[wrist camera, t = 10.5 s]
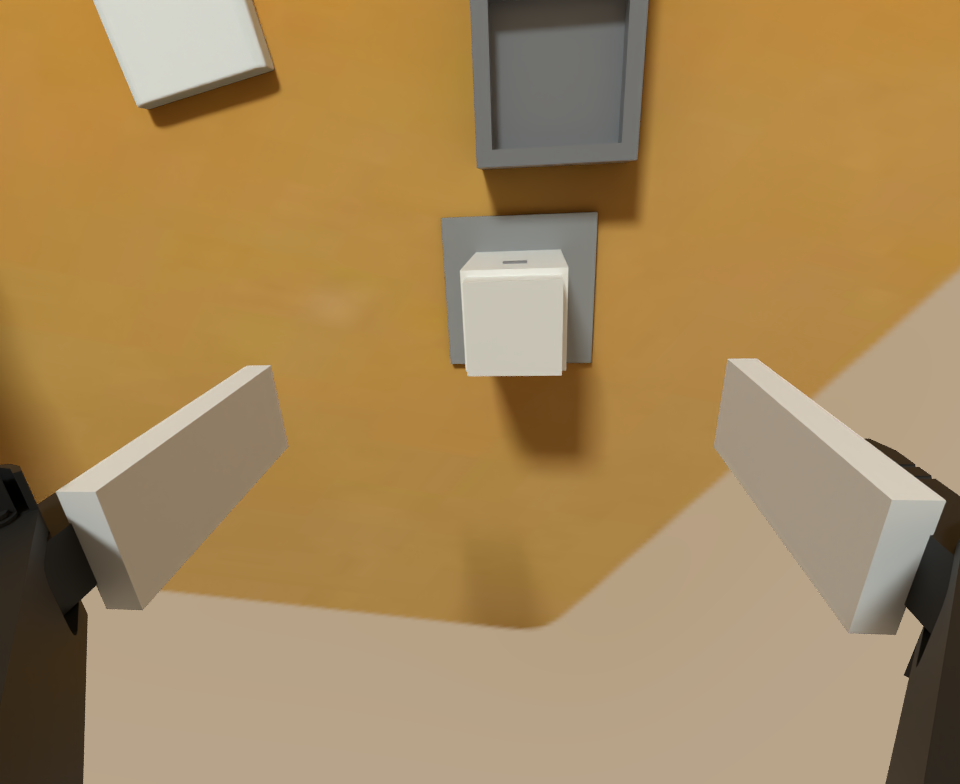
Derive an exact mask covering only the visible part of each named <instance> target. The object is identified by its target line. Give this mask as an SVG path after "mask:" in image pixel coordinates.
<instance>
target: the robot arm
mask: <svg viewBox="0 0 960 784" xmlns="http://www.w3.org/2000/svg"><path fill="white" fill-rule="evenodd" d="M287 448H288V442H287V438H286V433H285V428H284V424H283V419H282V415H281V410H280V405H279V401H278V396H277V391H276V387H275V382H274V378H273V373H272V368H271V365H265V366H245V367H244V368H242V369H241V370H239V371H238V372H236V373H235V374H233V375H232V376H230V377H229V378H227V379H226V380H224V381H223V382H221V383H220V384H218V385H216V386H215V387H213V388H212V389H210V390H209V391H207V392H206V393H204V394H203V395H201V396H200V397H198V398H197V399H195V400H194V401H192V402H191V403H189V404H188V405H186V406H185V407H183V408H182V409H180V410H179V411H177V412H175V413H174V414H172V415H171V416H169V417H168V418H166V419H165V420H163V421H162V422H160V423H159V424H157V425H156V426H154V427H153V428H151V429H150V430H148V431H147V432H145V433H144V434H142V435H141V436H139V437H138V438H136V439H135V440H133V441H131V442H130V443H128V444H127V445H125V446H124V447H122V448H121V449H119V450H118V451H116V452H115V453H113V454H112V455H110V456H109V457H107V458H106V459H104V460H103V461H101V462H100V463H98V464H97V465H95V466H94V467H92V468H90V469H89V470H87V471H86V472H84V473H83V474H81V475H80V476H78V477H77V478H75V479H74V480H72V481H71V482H69V483H68V484H66V485H65V486H63V487H62V488H60V489H59V490H57V491H56V493H54V494H52V495H51V496H49V497H48V498H46V499H45V500H43V501H42V502H40V503H39V504H37V503H36V501H35V499H34V497H33V495H32V492H31V490H30V488H29V486H28V484H27V481H26V479H25V477H24V475H23V473H22V471H21V468H20V466H17V465H12V464H4V465H0V784H83V766H84V728H85V692H86V655H87V652H86V651H87V618H88V617H87V616H88V615H87V612H86V610H85V608H84V605H83V604H82V602H81V599H82V598H83V597H84V596H85V595H86V594H88V593H89V592H90V591H91V589H93V588H94V587H95V586H97V588H98V590H99V592H100V595H101V597H102V599H103V601H104V604H105V606H106V608H107V609H128V610H143V609H144V608H145V607H146V606H147V605H148V603H149V602H150V601H151V600H152V599H153V598H154V597H155V595H156V594H157V593H158V592H159V591H160V590H161V589H162V588H163V587H164V585H165V584H166V583H167V582H168V581H169V580H170V579H171V578H172V577H173V575H174V574H175V573H176V572H177V571H178V570H179V569H180V568H181V566H182V565H183V564H184V563H185V562H186V561H187V560H188V559H189V557H190V556H191V555H192V554H193V553H194V552H195V551H196V550H197V549H198V547H199V546H200V545H201V544H202V543H203V542H204V541H205V540H206V538H207V537H208V536H209V535H210V534H211V533H212V532H213V531H214V529H215V528H216V527H217V526H218V525H219V524H220V523H221V522H222V520H223V519H224V518H225V517H226V516H227V515H228V514H229V513H230V512H231V510H232V509H233V508H234V507H235V506H236V505H237V504H238V503H239V501H240V500H241V499H242V498H243V497H244V496H245V495H246V494H247V492H248V491H249V490H250V489H251V488H252V487H253V486H254V485H255V483H256V482H257V481H258V480H259V479H260V478H261V477H262V476H263V475H264V473H265V472H266V471H267V470H268V469H269V468H270V467H271V466H272V464H273V463H274V462H275V461H276V460H277V459H278V458H279V457H280V455H281V454H282V453H283V452H284V451H285V450H286V449H287ZM714 448H715V449H716V451H717V452H718V454H719V455H720V456H721V458H722V459H723V460H724V462H725V463H726V465H727V466H728V467H729V469H730V470H731V471H732V473H733V474H734V475H735V477H736V478H737V480H738V481H739V482H740V484H741V485H742V486H743V488H744V489H745V491H746V492H747V494H748V495H749V496H750V498H751V499H752V501H753V502H754V503H755V504H756V506H757V507H758V509H759V510H760V512H761V513H762V514H763V516H764V517H765V518H766V520H767V521H768V523H769V524H770V525H771V527H772V528H773V530H774V531H775V532H776V534H777V535H778V536H779V538H780V539H781V541H782V542H783V543H784V545H785V546H786V548H787V549H788V550H789V552H790V553H791V554H792V556H793V557H794V559H795V560H796V561H797V563H798V564H799V565H800V567H801V568H802V570H803V571H804V572H805V574H806V575H807V576H808V578H809V579H810V581H811V582H812V583H813V585H814V586H815V587H816V589H817V590H818V592H819V593H820V595H821V596H822V597H823V599H824V600H825V601H826V603H827V604H828V606H829V607H830V608H831V610H832V611H833V612H834V613H835V615H836V617H837V618H838V619H839V620H840V622H841V624H842V625H843V626H844V628H845V629H846V630H847V632H848V633H859V634H888V635H896V632H897V630H898V627H899V624H900V622H901V619H902V617H903V614H904V611H905V608H906V607H907V608H908V609H909V610H910V612H912V614H913V615H914V616H915V617H916V618H917V619H918V620H919V621H920V623H921V624H922V625H923V626H924V627H923V629H922V632H921V634H920V637H919V639H918V642H917V644H916V646H915V649H914V652H913V654H912V656H911V659H910V662H909V664H908V666H907V669H906V671H905V674H904V675H905V676H907V677H909V681H908V685H907V690H906V695H905V699H904V703H903V708H902V713H901V717H900V722H899V726H898V730H897V735H896V739H895V744H894V748H893V753H892V757H891V762H890V766H889V770H888V776H887V780H886V784H960V496H958V495H957V494H956V493H954V492H953V491H952V490H950V489H949V488H948V487H946V486H945V485H943V484H942V483H941V482H939V481H938V480H936V479H932V478H931V475H929V474H928V473H927V472H925V471H924V470H922V469H921V468H920V467H915V464H914V463H913V462H911V461H910V460H908V459H907V458H906V457H904V456H903V455H902V454H900V453H899V452H897V451H896V450H893V449H891V448H889V447H887V446H885V445H882V444H880V443H878V442H876V441H873V440H871V439H863V438H862V437H861V436H859V435H858V434H856V433H855V432H854V431H853V430H851V429H850V428H849V427H847V426H846V425H845V424H843V423H842V422H841V421H839V420H838V419H837V418H835V417H834V416H833V415H831V414H830V413H829V412H827V411H826V410H825V409H823V408H822V407H821V406H819V405H818V404H817V403H815V402H814V401H813V400H811V399H810V398H809V397H807V396H806V395H805V394H803V393H802V392H801V391H799V390H798V389H797V388H795V387H794V386H793V385H791V384H790V383H789V382H787V381H786V380H785V379H783V378H782V377H781V376H779V375H778V374H777V373H775V372H774V371H773V370H771V369H770V368H769V367H767V366H766V365H765V364H763V363H762V362H761V361H759V360H758V359H728V360H727V366H726V372H725V379H724V385H723V392H722V398H721V404H720V411H719V417H718V424H717V430H716V436H715V443H714Z"/></svg>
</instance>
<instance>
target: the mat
mask: <svg viewBox="0 0 960 784" xmlns="http://www.w3.org/2000/svg"><path fill="white" fill-rule="evenodd" d="M597 220H598V212H579V213H554V214H529V215H504V216H479V217H453V218H441V226H442V240H443V255H444V270H445V284H446V299H447V314H448V328H449V343H450V358H451V364H465V349H464V332H463V315H462V299H461V282H460V270H461V269H462V268H463V266H464V265H465V264H466V263H467V262H468V261H469V260H470V258H471V257H472V256H473V255H474V254H475V253H476V252H501V251H529V250H558V249H561V251H562V254H563V256H564V258H565V260H566V263H567V265H568V311H567V357H566V363H591V355H592V332H593V310H594V287H595V265H596V242H597Z"/></svg>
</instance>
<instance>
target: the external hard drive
mask: <svg viewBox="0 0 960 784" xmlns="http://www.w3.org/2000/svg"><path fill="white" fill-rule="evenodd" d="M93 1H94V4H95V6H96V9H97V11H98V13H99V16H100V18H101V21H102V23H103V25H104V28H105V30H106V33H107V35H108V38H109V40H110V42H111V45H112V47H113V49H114V52H115V54H116V57H117V59H118V62H119V64H120V66H121V69H122V71H123V73H124V76H125V78H126V81H127V83H128V85H129V88H130V90H131V92H132V95H133V97H134V100H135V102H136V104H137V106H138V107H139V108H144V109H152V108H155V107H158V106H161V105H165V104H168V103H171V102H174V101H177V100H180V99H183V98H187V97H190V96H193V95H196V94H199V93H202V92H206V91H209V90H212V89H215V88H218V87H221V86H225V85H228V84H231V83H234V82H237V81H241V80H244V79H247V78H250V77H254V76H257V75H260V74H263V73H266V72H270V71H273V70H274V65H273V62H272V59H271V56H270V53H269V50H268V47H267V44H266V41H265V37H264V34H263V31H262V28H261V25H260V22H259V19H258V16H257V13H256V10H255V7H254V4H253V1H252V0H93Z"/></svg>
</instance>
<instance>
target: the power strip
mask: <svg viewBox="0 0 960 784" xmlns="http://www.w3.org/2000/svg"><path fill="white" fill-rule="evenodd" d="M648 1H649V0H470V10H471V35H472V59H473V84H474V108H475V133H476V157H477V168H479V169H482V170H486V169H507V168H527V167H547V166H567V165H587V164H607V163H627V162H631V161H635V160H637V158H638V144H639V130H640V115H641V101H642V87H643V73H644V58H645V44H646V30H647V16H648Z"/></svg>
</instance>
